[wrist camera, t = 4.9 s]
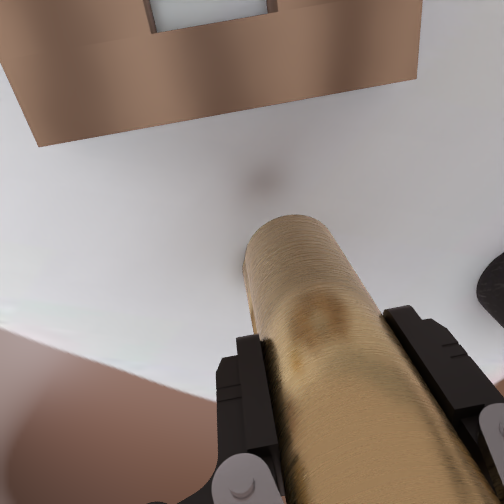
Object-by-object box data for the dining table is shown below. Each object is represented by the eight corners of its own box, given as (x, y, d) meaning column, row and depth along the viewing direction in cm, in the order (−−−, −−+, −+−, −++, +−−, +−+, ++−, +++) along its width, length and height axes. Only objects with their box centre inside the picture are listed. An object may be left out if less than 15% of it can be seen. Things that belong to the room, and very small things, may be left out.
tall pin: (333, 206, 15) (827, 870, 3) (336, 284, 17) (639, 862, 5) (237, 224, 15) (362, 971, 3) (252, 300, 17) (361, 922, 5)
